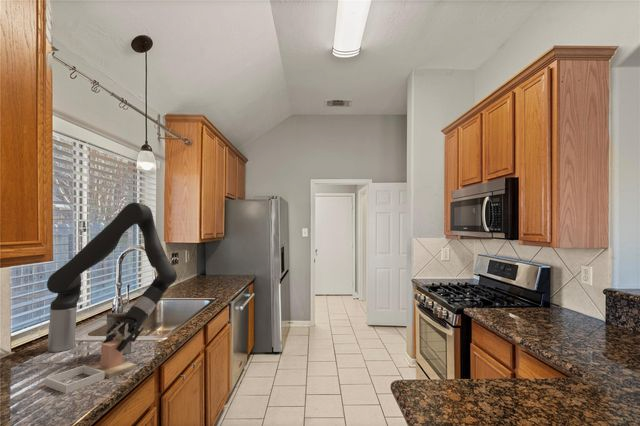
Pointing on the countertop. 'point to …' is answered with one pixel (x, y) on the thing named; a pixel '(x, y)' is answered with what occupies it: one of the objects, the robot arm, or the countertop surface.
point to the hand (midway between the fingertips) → (110, 348)
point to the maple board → (115, 369)
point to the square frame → (66, 388)
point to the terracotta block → (110, 355)
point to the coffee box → (110, 321)
